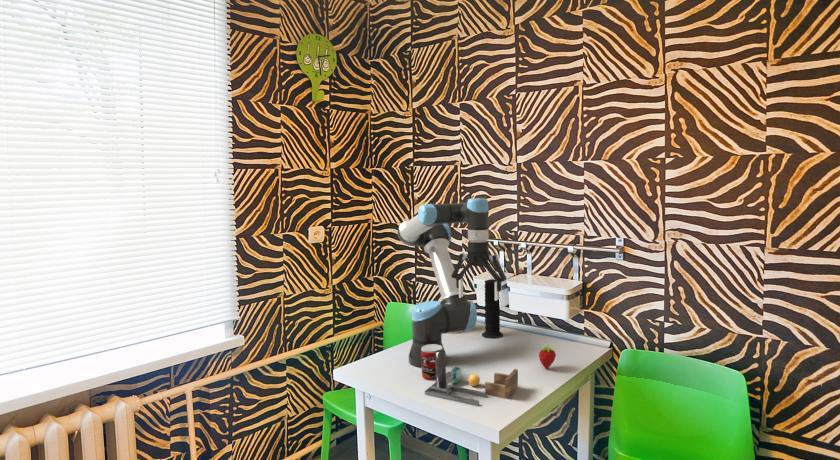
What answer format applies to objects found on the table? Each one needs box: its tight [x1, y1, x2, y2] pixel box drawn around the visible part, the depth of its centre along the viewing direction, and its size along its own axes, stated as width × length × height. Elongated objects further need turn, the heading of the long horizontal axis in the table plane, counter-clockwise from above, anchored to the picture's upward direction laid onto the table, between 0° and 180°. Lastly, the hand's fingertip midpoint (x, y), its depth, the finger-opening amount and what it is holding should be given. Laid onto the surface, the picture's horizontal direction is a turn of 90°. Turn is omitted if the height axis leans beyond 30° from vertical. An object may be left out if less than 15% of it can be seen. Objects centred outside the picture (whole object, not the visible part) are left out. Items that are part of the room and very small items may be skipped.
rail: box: [424, 385, 488, 407], centre depth 164 cm, size 19×8×1 cm, turn 61°
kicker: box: [431, 349, 462, 395], centre depth 170 cm, size 6×14×14 cm, turn 151°
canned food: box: [421, 344, 443, 381], centre depth 180 cm, size 8×8×11 cm
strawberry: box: [538, 343, 557, 370], centre depth 184 cm, size 6×8×10 cm
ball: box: [468, 373, 481, 387], centre depth 171 cm, size 4×4×4 cm
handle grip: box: [481, 278, 504, 339], centre depth 226 cm, size 10×26×10 cm
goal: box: [484, 368, 519, 400], centre depth 166 cm, size 8×10×6 cm
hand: (478, 298), depth 179 cm, fingers open, 13 cm apart
